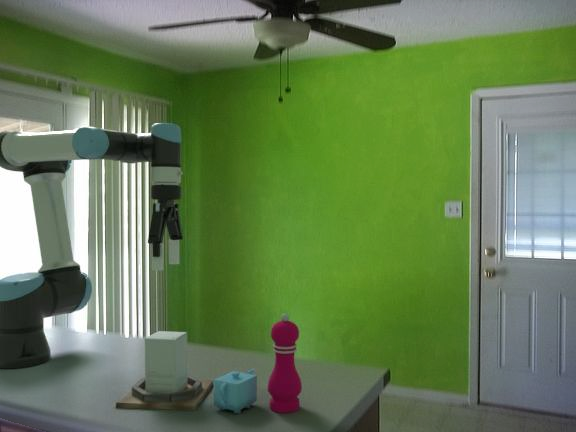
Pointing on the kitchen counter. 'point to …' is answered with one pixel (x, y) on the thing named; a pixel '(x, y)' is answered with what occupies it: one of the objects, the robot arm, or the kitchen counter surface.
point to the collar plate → (166, 396)
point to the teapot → (235, 390)
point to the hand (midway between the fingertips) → (166, 267)
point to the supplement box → (166, 362)
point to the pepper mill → (284, 368)
